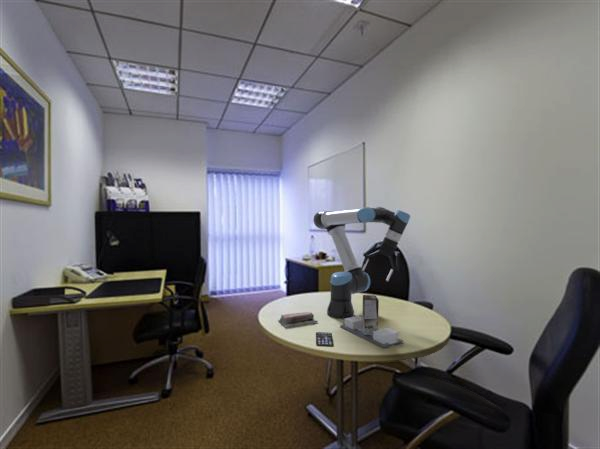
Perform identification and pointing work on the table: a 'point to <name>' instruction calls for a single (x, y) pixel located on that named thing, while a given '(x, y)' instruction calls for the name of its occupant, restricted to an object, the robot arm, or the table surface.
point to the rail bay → (369, 338)
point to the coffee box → (370, 314)
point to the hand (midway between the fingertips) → (374, 275)
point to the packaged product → (297, 319)
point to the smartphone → (324, 339)
